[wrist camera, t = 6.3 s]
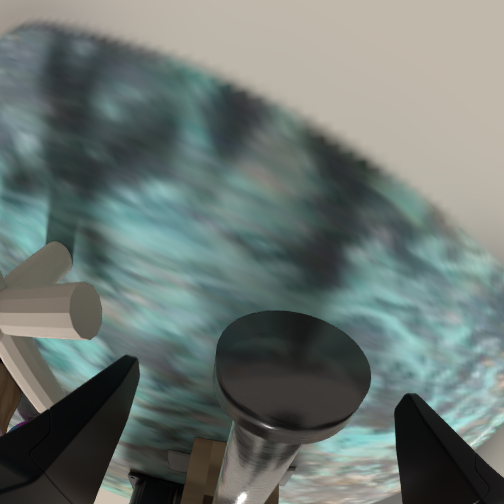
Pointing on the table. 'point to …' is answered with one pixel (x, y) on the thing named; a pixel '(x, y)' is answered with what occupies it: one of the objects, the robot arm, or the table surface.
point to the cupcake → (7, 398)
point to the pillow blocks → (208, 473)
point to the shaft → (281, 395)
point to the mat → (182, 460)
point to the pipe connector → (43, 319)
